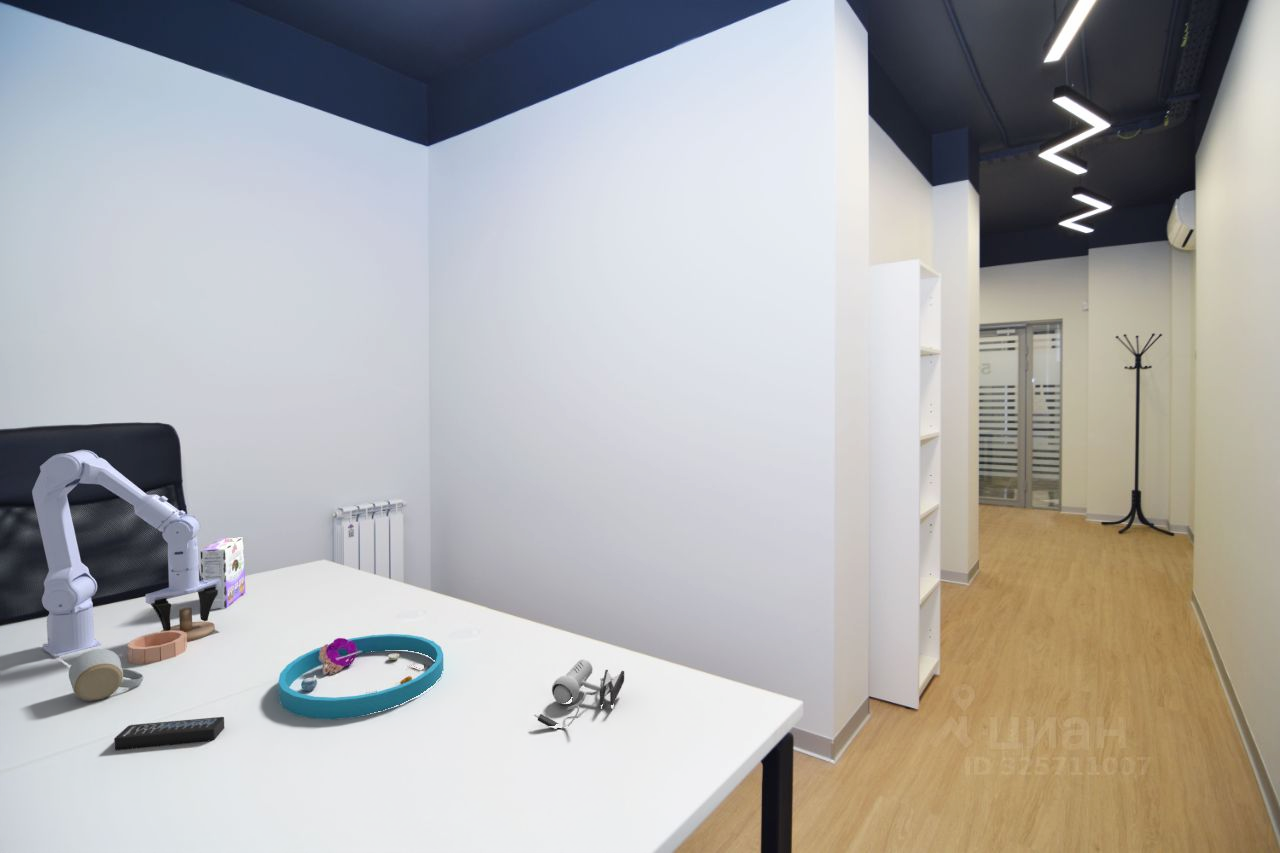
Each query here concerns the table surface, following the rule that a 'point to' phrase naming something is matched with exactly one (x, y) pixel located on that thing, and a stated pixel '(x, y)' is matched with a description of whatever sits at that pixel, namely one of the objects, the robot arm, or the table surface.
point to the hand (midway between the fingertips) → (185, 625)
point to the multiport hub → (169, 733)
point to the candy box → (225, 569)
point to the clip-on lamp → (573, 682)
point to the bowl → (157, 646)
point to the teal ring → (349, 649)
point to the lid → (192, 626)
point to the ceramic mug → (100, 675)
